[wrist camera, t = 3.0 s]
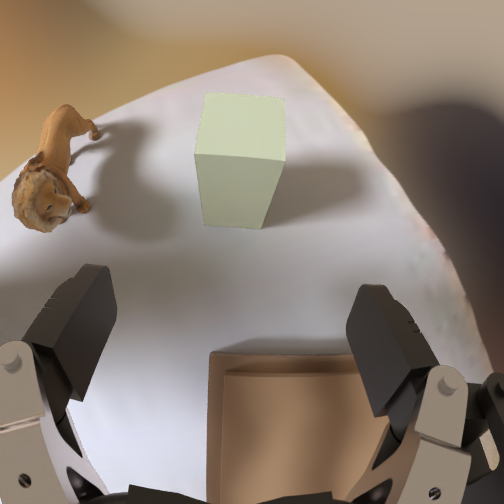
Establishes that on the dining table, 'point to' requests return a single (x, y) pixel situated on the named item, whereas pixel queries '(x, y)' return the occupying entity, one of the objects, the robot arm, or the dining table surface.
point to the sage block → (239, 157)
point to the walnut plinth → (286, 426)
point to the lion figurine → (51, 173)
